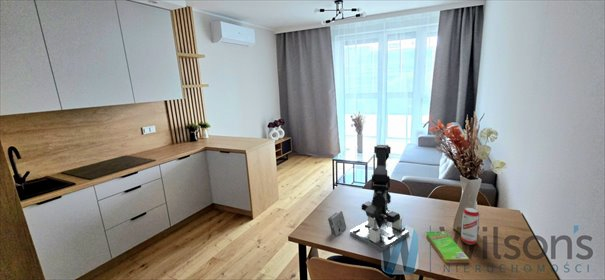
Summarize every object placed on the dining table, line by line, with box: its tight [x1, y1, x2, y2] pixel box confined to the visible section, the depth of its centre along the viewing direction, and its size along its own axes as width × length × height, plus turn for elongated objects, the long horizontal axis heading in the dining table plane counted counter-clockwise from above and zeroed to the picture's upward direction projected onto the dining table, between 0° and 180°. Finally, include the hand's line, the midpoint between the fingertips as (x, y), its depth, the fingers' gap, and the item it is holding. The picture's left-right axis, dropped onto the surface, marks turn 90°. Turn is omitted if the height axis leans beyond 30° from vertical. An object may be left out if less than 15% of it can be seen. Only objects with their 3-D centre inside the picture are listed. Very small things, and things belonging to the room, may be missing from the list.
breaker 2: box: [369, 227, 380, 243], centre depth 124 cm, size 3×4×6 cm, turn 36°
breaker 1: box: [367, 216, 378, 228], centre depth 136 cm, size 3×4×6 cm, turn 36°
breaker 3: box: [392, 216, 403, 230], centre depth 134 cm, size 3×4×6 cm, turn 36°
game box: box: [425, 230, 470, 264], centre depth 121 cm, size 3×10×20 cm
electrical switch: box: [327, 210, 347, 236], centre depth 138 cm, size 9×5×9 cm, turn 141°
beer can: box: [460, 206, 480, 245], centre depth 123 cm, size 6×6×16 cm
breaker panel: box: [349, 219, 410, 253], centre depth 133 cm, size 21×19×3 cm
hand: (379, 227), depth 132 cm, fingers closed
